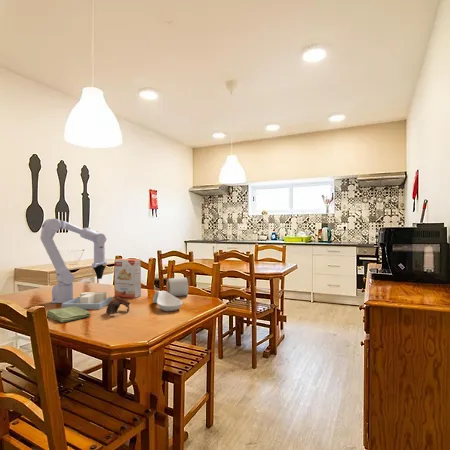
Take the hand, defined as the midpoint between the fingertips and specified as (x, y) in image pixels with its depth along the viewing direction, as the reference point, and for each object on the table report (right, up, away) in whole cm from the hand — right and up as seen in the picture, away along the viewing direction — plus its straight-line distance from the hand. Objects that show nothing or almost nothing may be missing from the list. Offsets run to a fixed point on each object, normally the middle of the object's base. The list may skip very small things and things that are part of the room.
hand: (99, 278), depth 179 cm
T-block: (+3, -10, -19) cm, 22 cm away
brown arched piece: (+22, -10, -36) cm, 44 cm away
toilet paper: (+44, -10, -1) cm, 45 cm away
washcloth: (+3, -10, -41) cm, 43 cm away
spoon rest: (+42, -10, -26) cm, 50 cm away
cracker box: (+16, -10, -1) cm, 19 cm away
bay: (+3, -10, -21) cm, 23 cm away
